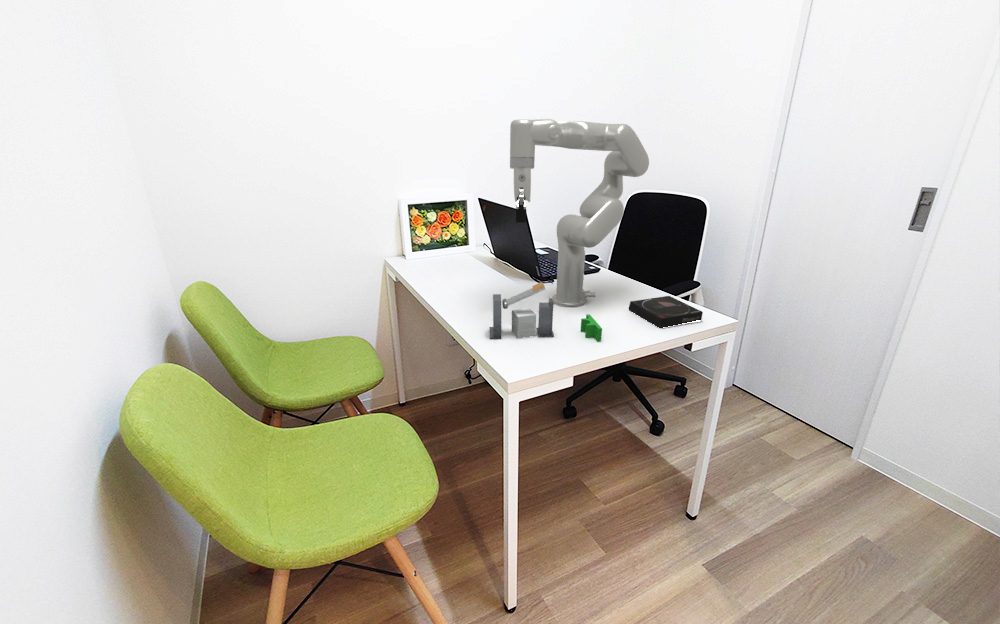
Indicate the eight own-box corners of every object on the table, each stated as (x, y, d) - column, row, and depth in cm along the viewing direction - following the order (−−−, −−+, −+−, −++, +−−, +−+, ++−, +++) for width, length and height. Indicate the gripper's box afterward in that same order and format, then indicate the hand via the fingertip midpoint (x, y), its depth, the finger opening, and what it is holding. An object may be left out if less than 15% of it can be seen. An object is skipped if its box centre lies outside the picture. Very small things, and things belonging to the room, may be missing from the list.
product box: (511, 331, 140) (511, 309, 137) (529, 328, 142) (529, 307, 139) (517, 339, 135) (517, 316, 132) (536, 336, 136) (537, 314, 134)
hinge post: (500, 328, 142) (500, 293, 137) (501, 339, 134) (501, 302, 130) (489, 328, 142) (489, 293, 137) (489, 339, 134) (489, 302, 130)
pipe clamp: (577, 328, 143) (578, 314, 141) (588, 327, 143) (589, 314, 142) (589, 342, 132) (590, 328, 131) (601, 342, 133) (602, 328, 131)
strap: (544, 286, 135) (542, 281, 134) (546, 290, 131) (544, 285, 130) (503, 304, 137) (501, 299, 136) (504, 309, 133) (501, 304, 132)
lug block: (551, 329, 141) (552, 296, 137) (553, 337, 136) (555, 303, 132) (536, 329, 141) (537, 296, 137) (538, 337, 136) (539, 303, 132)
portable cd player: (666, 305, 162) (667, 295, 160) (700, 323, 147) (702, 311, 145) (628, 311, 157) (629, 300, 155) (659, 330, 142) (661, 318, 140)
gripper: (535, 165, 128) (533, 224, 134) (533, 161, 144) (532, 215, 150) (509, 165, 128) (508, 224, 134) (510, 161, 144) (509, 214, 150)
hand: (520, 219), depth 142 cm, fingers open, 9 cm apart
